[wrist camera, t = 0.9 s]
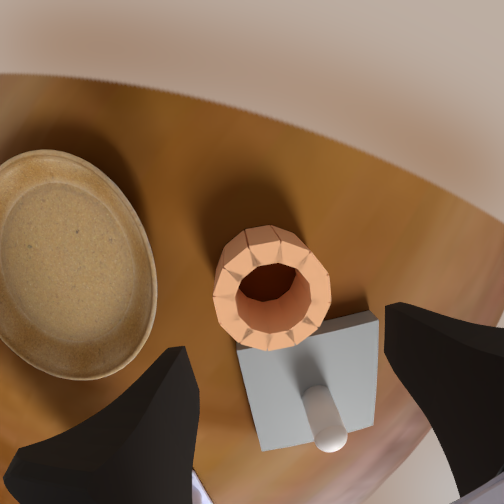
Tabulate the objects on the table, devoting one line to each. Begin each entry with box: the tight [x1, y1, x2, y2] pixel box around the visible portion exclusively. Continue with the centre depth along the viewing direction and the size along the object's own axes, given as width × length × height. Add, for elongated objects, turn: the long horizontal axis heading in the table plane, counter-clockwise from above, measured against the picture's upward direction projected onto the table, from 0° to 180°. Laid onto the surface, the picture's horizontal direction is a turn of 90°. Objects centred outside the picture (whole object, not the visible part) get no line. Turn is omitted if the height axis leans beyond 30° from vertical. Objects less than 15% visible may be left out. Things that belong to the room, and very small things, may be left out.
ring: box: [213, 225, 331, 351], centre depth 17 cm, size 6×6×4 cm
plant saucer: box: [0, 149, 157, 380], centre depth 17 cm, size 15×15×3 cm
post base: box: [236, 310, 379, 452], centre depth 18 cm, size 10×9×6 cm
